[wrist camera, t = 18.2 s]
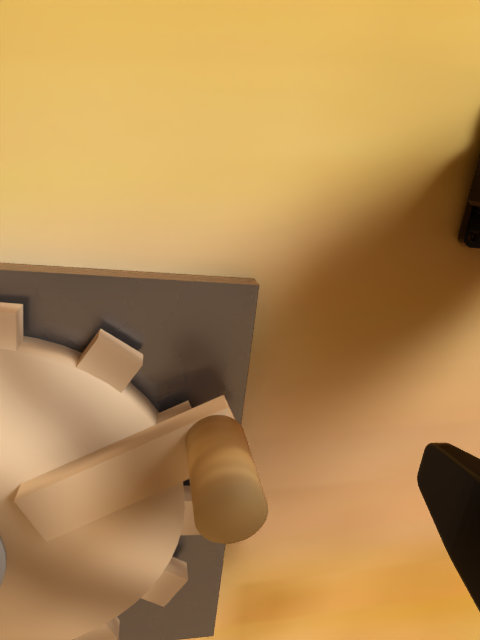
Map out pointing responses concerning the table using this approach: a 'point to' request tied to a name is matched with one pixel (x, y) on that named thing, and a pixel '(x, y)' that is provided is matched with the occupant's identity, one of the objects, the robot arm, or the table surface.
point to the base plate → (154, 380)
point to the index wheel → (104, 486)
